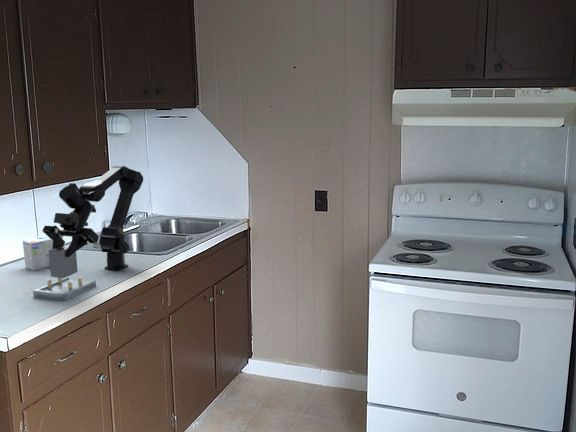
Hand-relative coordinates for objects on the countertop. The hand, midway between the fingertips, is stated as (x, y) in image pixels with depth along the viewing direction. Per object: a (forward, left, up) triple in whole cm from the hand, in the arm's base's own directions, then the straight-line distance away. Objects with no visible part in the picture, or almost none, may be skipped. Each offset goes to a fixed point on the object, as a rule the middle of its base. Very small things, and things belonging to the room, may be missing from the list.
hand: (59, 256), depth 190 cm
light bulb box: (-22, -29, -13) cm, 38 cm away
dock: (-1, 0, -12) cm, 12 cm away
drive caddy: (-1, 0, -7) cm, 7 cm away
